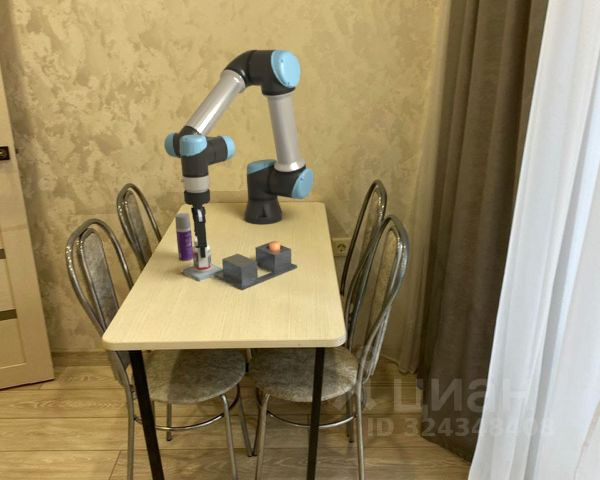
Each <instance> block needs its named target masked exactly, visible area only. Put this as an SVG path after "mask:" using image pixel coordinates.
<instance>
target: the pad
mask: <svg viewBox="0 0 600 480" xmlns="http://www.w3.org/2000/svg"><path fill="white" fill-rule="evenodd" d="M211 264H212V268H211V269H210V270H209V271H206V272H197V271H195V270H194V265H192V266H188V267H185V268H183V269H182V273H183V274H185V275H186V276H189V277H190V278H193V279H195V280H196V281H199V282H201V281H203V280H206V279H209V278H211V277H215V274H218V273H221V272H223V267H219V266H218V265H217V264H213V263H211Z"/></svg>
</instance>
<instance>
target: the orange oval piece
mask: <svg viewBox="0 0 600 480" xmlns="http://www.w3.org/2000/svg"><path fill="white" fill-rule="evenodd" d="M268 243H269V249H270V250H272V251H276V250H279V249H280V245H281V242H280V241H276V240H274V241H269V242H268Z"/></svg>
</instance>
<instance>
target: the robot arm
mask: <svg viewBox="0 0 600 480" xmlns="http://www.w3.org/2000/svg"><path fill="white" fill-rule="evenodd" d="M300 76H301V66H300V62H299V60H298V57H297V56H296V55H295V54H294V53H293V52H292V51H289V50H283V49H250V50H246V51H244V52H242V53H240V54H239V55H237V56H236V57H235V58H234V59H232V60H231V61H230V62H229V63H228V64H226V66H225V67H224V68H223V70H222V71H221V72H220V75H219V78H220V79H219V80H218V81H217V83H216V84H215V85H213V87H212V89H211V90H210V92H209V93H208V94H207V95H206V97H205V98H204V99H203V101H202V102H201V103H200V104H199V105H198V107H197V109H195V111H194V112H193V114H191V116H190V117H189V118H188V120H187V121H186V122H185V124H184V125H183V127H182V128H181V129H180V130H179V132H176V131H175V132H171V133H169V134H167V136H166V137H165V139H164V144H163V145H164V149H165V152H166V154H167V155H169V156H170V157H173V158H176V159H177V158H178V159H180V165H181V174H182V178H181V179H180V182H181V183H182V184H183V185H182V187H183V196H184V199H183V200H184V203H185V204H187V205H188V206H191V207H190V210H191V211H190V212H191V215H192V220H193V228H194V229H193V231H194V236H195V238H197V241H198V245H197V246H195V245H194V246H195V247H196V248H198V261H199V268H200V267H208V256H207V244H208V239H206V238H207V232H206V231H207V230H206V229H207V228H206V223H207V220H206V214H207V212H206V208H205V206H203V205H206V204H209V203H210V202H211V190H210V189H209V188H210V187H211V186H210V185H211V184H210V174H209V173H210V172H209V167H210V166H212V165H215V164H218V163H223V162H226V161H228V160H230V159H232V158H233V157H234V155H235V153H236V145H235V142H234V140H233V139H232V138H231V137H230V136H228V135H223V134H222V135H217V136H208V135H209V134H210V133H211V131H212V130H213V128H214V127H216V124H217V123H218V122H219V120H220V119H221V117H223V115H224V114H225V112H226V111H227V110H228V108H229V107H230V106H231V104H232V103H233V102H234V100H235V99H236V97H237V96H239V94H242V93H244V92H245V90H247V88H249V87H253V86H255V87H257V86H258V87H260V91H261V95H262V96H264V97H265V98H266V99H267V105H268V111H269V116H270V117H269V118H270V124H271V129H272V136H273V137H272V138H273V141H274V142H273V143H274V148H275V155H276V159H275V158H274V159H273V158H269V159H268V158H267V159H260V160H255V161H251V162H249V163H248V164H247V165H246V186H247V188H246V189H247V203H246V206H245V211H244V215H243V216H244V221H245V222H247V223H250V224H255V225H268V224H269V225H270V224H274V223H275V224H276V223H278V222H280V221H282V220H283V210H282V208H281V204H280V202H279V198H278V197H283V198H289V199H293V200H303V199H306V198H307V197H308V196H309V194H310V192H311V191H312V188H313V185H314V178H315V177H314V171H313V170H312V169H311V168H309V167H307V166H306V165H307V164H306V160H305V159H304V158H302V157H301V152H300V151H301V150H300V143H299V137H298V129H297V122H296V114H295V107H294V100H293V94H294V92H295V91H296V87H297V85H298V84H299V82H300V80H301V77H300ZM195 238H194V239H195Z"/></svg>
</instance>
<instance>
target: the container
mask: <svg viewBox="0 0 600 480" xmlns="http://www.w3.org/2000/svg"><path fill="white" fill-rule="evenodd" d="M174 216H175V219H174V221H175V233H176V242H177V253H178V260H179V261H180V262H191V261H192V260H193V251H192V248H193V239H192V238H193V237H192V235H193V234H192V225H191V218H190V217H191V216H190V214H189V213H187V212H181V213H177V214H175V215H174Z"/></svg>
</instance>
